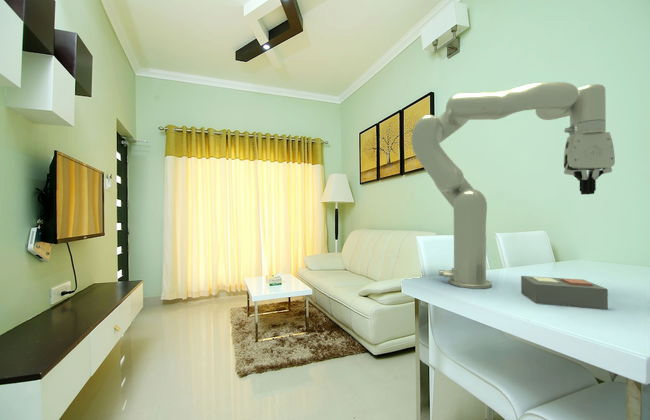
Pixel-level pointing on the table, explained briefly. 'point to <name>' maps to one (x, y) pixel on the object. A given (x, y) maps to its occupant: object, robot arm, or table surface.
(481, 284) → the robot arm
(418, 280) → the table surface
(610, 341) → the table surface
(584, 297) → the key panel
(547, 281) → the cream key
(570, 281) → the red key
